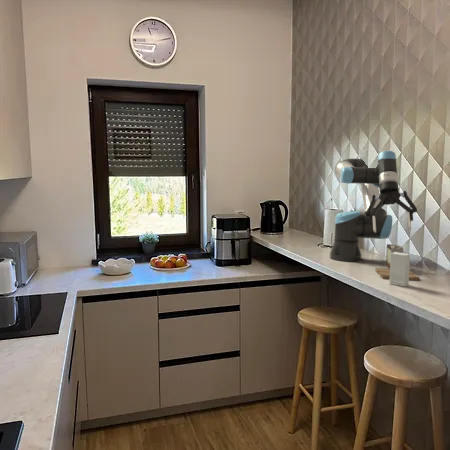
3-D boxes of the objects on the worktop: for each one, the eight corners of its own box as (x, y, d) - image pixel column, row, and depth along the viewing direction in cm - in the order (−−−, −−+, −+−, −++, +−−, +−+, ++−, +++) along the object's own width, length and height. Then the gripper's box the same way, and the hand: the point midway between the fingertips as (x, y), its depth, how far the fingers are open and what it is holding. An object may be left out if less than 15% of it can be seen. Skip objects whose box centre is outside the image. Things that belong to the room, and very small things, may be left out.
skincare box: (409, 285, 159) (411, 253, 158) (404, 287, 156) (406, 255, 154) (392, 282, 163) (394, 251, 162) (388, 284, 160) (390, 252, 159)
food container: (405, 272, 181) (406, 249, 180) (390, 271, 182) (391, 248, 181) (399, 265, 193) (400, 244, 192) (385, 265, 194) (386, 243, 193)
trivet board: (375, 270, 182) (375, 268, 182) (408, 272, 180) (409, 269, 180) (382, 278, 168) (382, 275, 168) (419, 280, 166) (419, 277, 166)
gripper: (357, 184, 183) (359, 229, 175) (419, 175, 172) (424, 223, 164) (360, 191, 190) (362, 235, 182) (420, 183, 178) (425, 230, 170)
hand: (392, 229), depth 173 cm, fingers open, 13 cm apart
